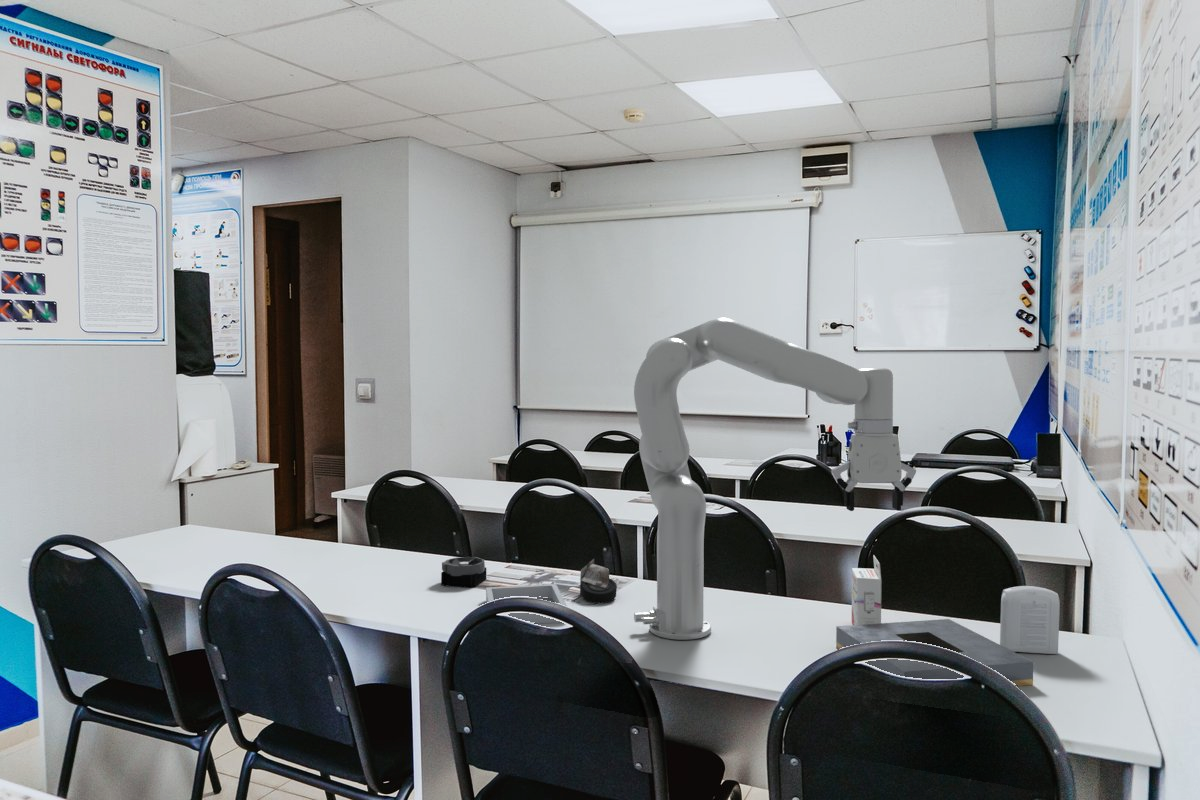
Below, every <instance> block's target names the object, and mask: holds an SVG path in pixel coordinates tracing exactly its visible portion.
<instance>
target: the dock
mask: <svg viewBox="0 0 1200 800" xmlns="http://www.w3.org/2000/svg"><path fill="white" fill-rule="evenodd" d="M835 631H836V633H835V637H836V638H835V639H836V640H835V641H836V642H835V643H836V644H835V645H836V648H838V649H839V648H842V647H846V646H850V645H854V644H860V643H866V642H871V641H881V640H903V641H905V640H907V641H916V642H922V643H927V644H932V645H936V646H940V647H943V648H947V649H950V650H953V651H956V652H958V653H961V654H963V655H966V656H968V657H970V658H972V659H974V660H976V661H978V662H981V663H982V664H984V665H986V666H988V667H990V668H992V669H993V670H996V671H997V672H999V673H1000V674H1002V675H1003V676H1005V677H1006V678H1007V679H1009V680H1010V681H1012V682H1013V683H1015V684H1016V685H1018V686H1017V687H1023V686H1033V685H1034V661H1033V660H1031V659H1029V658H1028V657H1027V658H1026V657H1025V656H1023V655H1022V654H1019V653H1017V652H1013V651H1011V650H1009V649H1007V648H1005V647H1003V646H1001V645H1000V643H997V642H995V641H993V640H992V639H989V638H987V637H985V636H984V635H982V634H980V633H977V632H976V631H973V630H971V629H969V628H968V627H966V626H964V625H961V624H960V623H957V622H956V621H954V620H952V619H951V618H950V619H949V618H943V619H941V618H940V619H929V620H928V619H927V620H913V621H912V620H911V621H900V622H899V621H898V622H897V621H895V622H883V623H882V622H881V623H879V624H864V625H853V624H851V625H836V630H835ZM865 663H867V664H869V665H872V666H875V667H877V668H879V669H881V670H884V671H887V672H890V673H893V674H896V675H900V676H905V677H913V678H922V679H957V678H963V677H964V676H963V675H960V674H958V673H956V672H954V671H951V670H949V669H947V668H943V667H940V666H936V665H933V664H928V663H924V662H918V661H910V660H898V659H887V660H876V661H868V662H865Z"/></svg>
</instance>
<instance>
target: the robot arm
mask: <svg viewBox="0 0 1200 800" xmlns="http://www.w3.org/2000/svg"><path fill="white" fill-rule="evenodd" d="M717 360H718V361H721V362H724V363H727V364H729V365H731V366H733V367H737V368H739V369H741V370H744V371H746V372H749V373H751V374H753V375H756V376H758V377H761V378H764V379H765V380H769V381H770V382H771V381H772V382H775V383H778V384H785V385H791V386H794V387H799V388H802V389H805V390H808V391H811V392H814V393H815V394H816V396H817V397H818V398H819V399H820V400H821V401H823V402H825V403H829V404H834V405H843V406H852V405H854V419H853V421H850V422H848V423H847V428H848V430H853V432H854V433H851V436H850V440H849V446H848V454H847V461H846V462H844V463H842V464H839V465H838V466H835V467H834V468H832V469H831V470H830V472H831V475H832V476H833V478H834V480H835V482H836V484H837V485H838V486H839V487H840V488H841V489H842V490H844V491H843V492H844V494H843V495H844V496H843V504H844V507H846V510H848V511H849V512H854V511H855V492H854V491H853V489H854V488H855V487H856V485H857V484H858V483H859V484H891V485H892V486H893V487H894V488H893V489H892V491H891V492H892V494H891V495H892V496H891V499H892V501H891V502H892V505H891V507H892V509H894V510H896V511H898V512H899V511H902V507H903V506H904V491H905V490H906V488H908V487H909V485H911V483H912V481H913V479H914V477H915V475H916V473H917V469H915V468H913V467H911V466H910V465H907V464H905V463H903V462H902V459H901V458H902V457H901V450H900V449H901V447H900V443H899V438H898V437H899V436H898V434H896V433H894V430H893V429H894V425H893V424H894V423H893V422H894V417H893V415H894V411H893V410H894V409H893V408H894V404H893V403H894V374H893V372H892V371H891V370H890V369H888V368H885V367H873V368H872V367H871V368H870V367H869V368H868V367H867V368H860V369H857V368H856V367H853V366H851V365H848V364H846V363H843V362H841V361H839V360H836V359H834V358H831V357H829V356H827V355H823V354H821V353H818V352H816V351H815V352H814V351H812V350H811V349H810V350H809V349H806V348H804V347H801V346H799V345H796V344H794V343H791V342H787V341H786V340H783V339H780V338H778V337H775V336H773V335H770V334H767V333H765V332H762V331H760V330H757V329H756V328H754V327H751V326H748V325H745V324H744V323H741V322H739V321H736V320H733V319H731V318H727V317H719V318H718V317H717V318H715V319H711V320H708V321H705V322H704V323H703V322H702V323H701V324H698V325H697V326H694V327H692V328H690V329H686V330H684V331H682V332H681V331H680V332H679V333H675V334H673V335H671V336H668V337H664V338H662V339H660V340H657V341H656V342H654V343H652V345H650V346H649V348H648V350H647V353H646V355H645V359H644V360H643V362H642V363H641V365H640V367H639V369H638V372H637V374H636V377H635V380H634V381H635V382H634V386H633V397H634V404H635V409H636V414H637V418H638V424H639V428H640V433H641V436H640V439H639V443H638V447H639V448H638V450H639V456H640V459H641V464H642V468H643V472H644V475H645V476H644V477H645V479H646V483H647V487H648V490H649V494H650V498H651V501H652V503H653V505H654V507H655V508H656V510H657V515H658V517H657V518H658V519H657V532H656V605H653V606H652V610H649V611H648V612H634V614H633V619H634V620H633V621H634V623H642V624H643V625H649V631H650V633H652V634H653V635H655V636H657V637H659V638H664V639H670V640H677V641H684V640H685V641H687V640H688V641H689V640H697V639H701V638H704V637H706V636H708V635H710V634H711V632H712V625H711V624H710V623H709V622H708V621H707V620H705V619H704V591H705V590H704V586H705V585H704V568H705V567H704V565H705V563H704V562H705V561H704V548H705V547H704V543H705V542H704V541H705V540H704V539H705V525H706V518H707V517H706V516H707V514H706V513H707V502H706V497H705V494H704V492H703V490H702V488H701V487H700V485H699V484H698V483H696V482H695V481H694V480H692V477H691V473H690V468H689V465H688V460H689V457H690V444H689V441H688V439H687V435H686V432H685V428H684V424H683V421H682V417H681V413H680V407H679V403H678V397H677V390H678V386H679V383H680V381H681V380H682V378H683V377H685V376H686V375H687V374H688V372H691V371H693V370H696V369H699V368H701V367H704V366H705V365H707V364H708V365H709V364H710V363H713V362H715V361H717ZM846 471H847V479H846V481H845V480H844V479H843V478H842V476H841V474H842V473H843V472H846ZM902 471H904V472H905V473H906V474H905V476H904V477H903V478H902V474H903V473H902Z"/></svg>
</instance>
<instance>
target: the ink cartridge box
mask: <svg viewBox="0 0 1200 800" xmlns="http://www.w3.org/2000/svg"><path fill="white" fill-rule="evenodd" d="M872 557H873V558H872V559H873V567H874V568H864V567H863V568H862V567H852V568H851V622H852V625H864V624H879V623H882V574H881V573H882V571H881V563H880V562H879V560H878V559H877V557H876V556H875V554H873V556H872Z"/></svg>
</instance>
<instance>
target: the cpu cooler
mask: <svg viewBox="0 0 1200 800" xmlns="http://www.w3.org/2000/svg"><path fill="white" fill-rule="evenodd" d="M441 570H442V572H441V573H440V575H441V577H440V578H441V579H440V581H441V586H443V587H454V588H457V587H458V588H473V587H474V588H477V587H478V586H479V585H481V584H482V583H483V582H485V581H486V580H487V567H486V565H485V558H480V557H477V556H461V557H453V558H450V559H446V560H445V561H443V562H441Z"/></svg>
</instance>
